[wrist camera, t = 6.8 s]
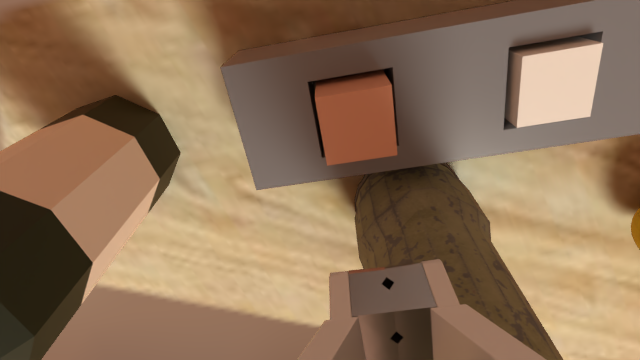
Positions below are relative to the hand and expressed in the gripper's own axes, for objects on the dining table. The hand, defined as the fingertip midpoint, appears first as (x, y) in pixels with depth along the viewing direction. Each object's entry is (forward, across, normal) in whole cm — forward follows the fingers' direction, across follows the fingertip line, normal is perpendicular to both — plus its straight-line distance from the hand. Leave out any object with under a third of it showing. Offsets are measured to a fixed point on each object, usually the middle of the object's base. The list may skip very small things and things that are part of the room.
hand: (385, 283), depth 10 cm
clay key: (+15, 0, 0) cm, 15 cm away
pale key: (+16, -11, 0) cm, 20 cm away
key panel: (+18, -6, 0) cm, 19 cm away
